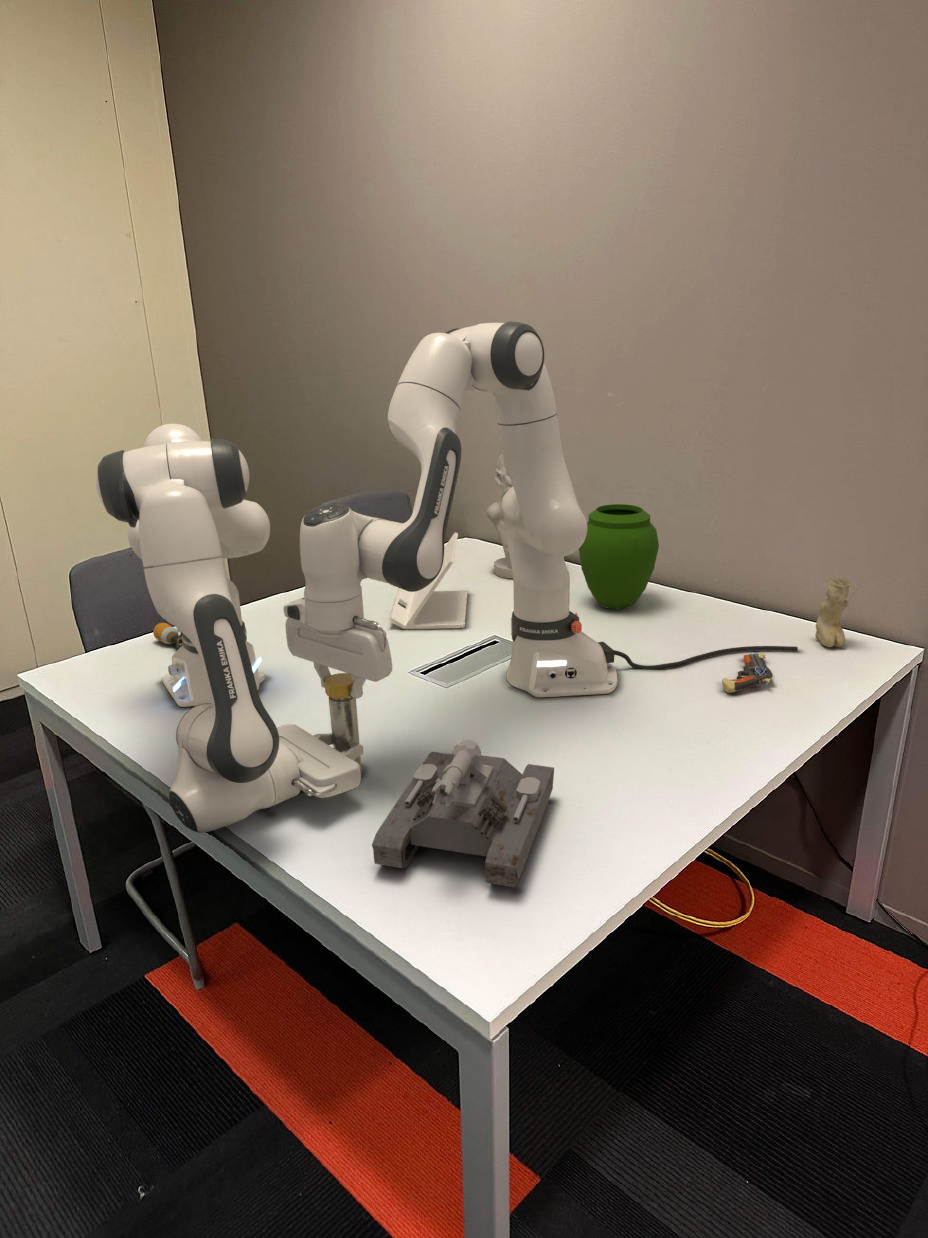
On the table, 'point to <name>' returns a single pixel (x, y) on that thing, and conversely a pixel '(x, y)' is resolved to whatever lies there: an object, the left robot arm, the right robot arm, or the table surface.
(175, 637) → the spray gun
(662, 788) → the table surface
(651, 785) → the table surface
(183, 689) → the left robot arm
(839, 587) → the sculpture
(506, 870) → the toy
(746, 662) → the toy gun
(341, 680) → the lid
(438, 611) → the tablet stand
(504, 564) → the bust sculpture
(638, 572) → the vase
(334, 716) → the thermos bottle
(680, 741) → the table surface
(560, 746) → the table surface
